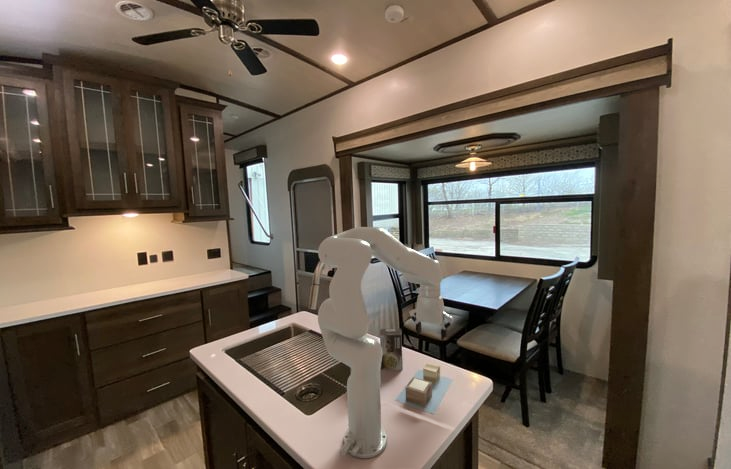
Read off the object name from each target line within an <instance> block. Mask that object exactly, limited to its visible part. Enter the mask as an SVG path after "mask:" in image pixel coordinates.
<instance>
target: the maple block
mask: <svg viewBox="0 0 731 469" xmlns="http://www.w3.org/2000/svg"><path fill="white" fill-rule="evenodd" d="M422 370H423V380H425V381H429V382H432V384H437V382H438V381H439V379H440V376H441V365H440V364H439V365H438V364H436V363H432V362H427V363H426V364H425V365H424V366H423V369H422Z"/></svg>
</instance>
